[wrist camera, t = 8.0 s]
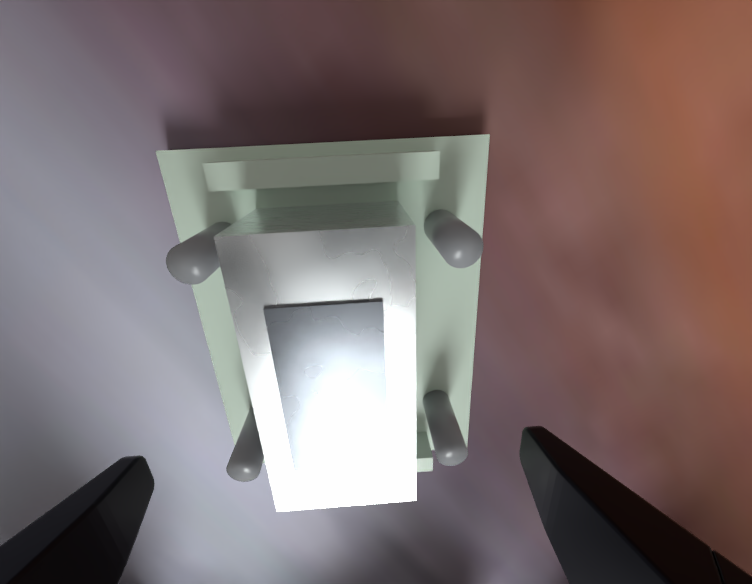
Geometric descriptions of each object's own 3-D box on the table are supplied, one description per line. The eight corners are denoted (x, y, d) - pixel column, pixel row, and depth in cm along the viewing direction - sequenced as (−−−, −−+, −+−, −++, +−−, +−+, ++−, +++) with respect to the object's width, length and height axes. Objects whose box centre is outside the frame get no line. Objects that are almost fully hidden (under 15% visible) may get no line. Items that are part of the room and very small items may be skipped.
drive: (294, 428, 16) (276, 514, 13) (255, 208, 12) (212, 237, 9) (402, 420, 16) (416, 503, 13) (398, 200, 13) (415, 225, 9)
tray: (244, 451, 18) (217, 527, 14) (167, 150, 12) (92, 153, 9) (462, 435, 18) (488, 505, 15) (482, 134, 13) (530, 131, 9)
